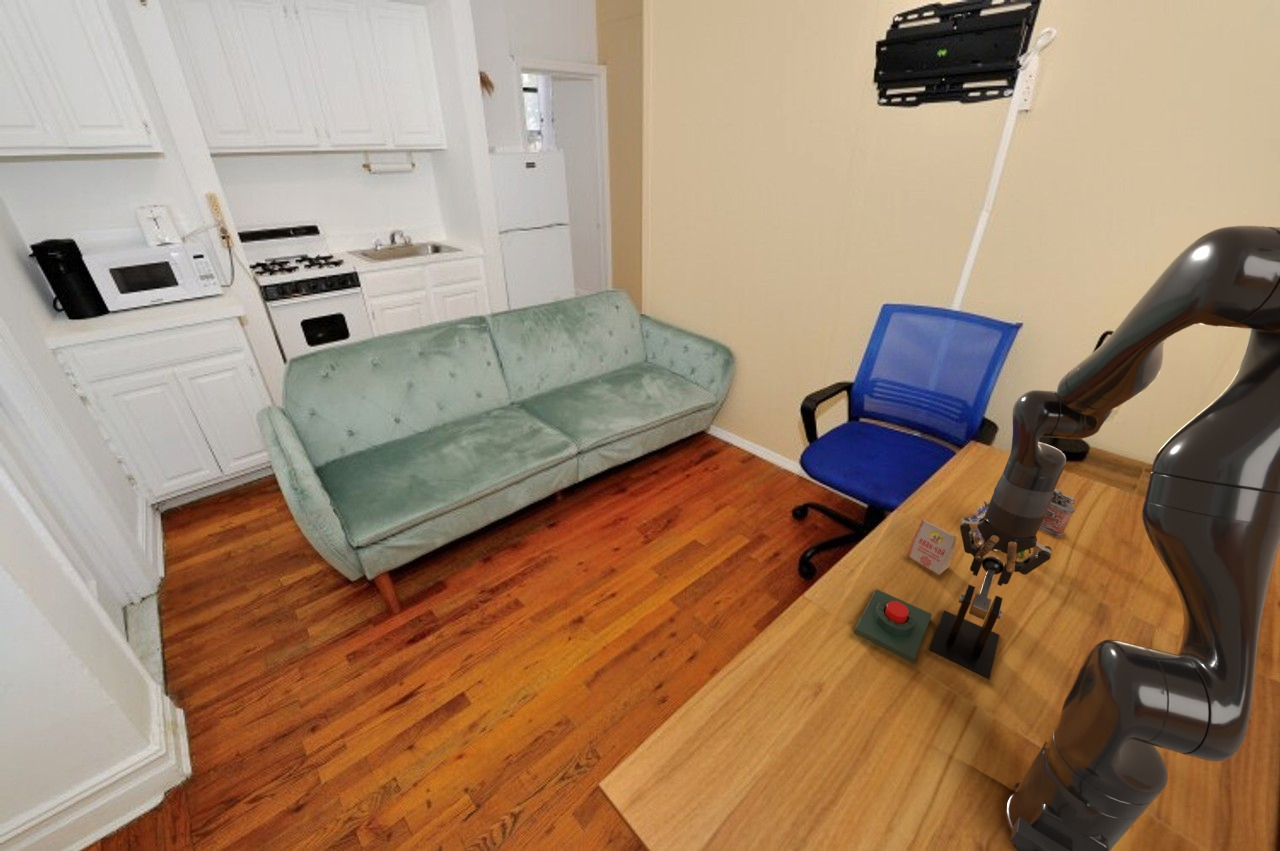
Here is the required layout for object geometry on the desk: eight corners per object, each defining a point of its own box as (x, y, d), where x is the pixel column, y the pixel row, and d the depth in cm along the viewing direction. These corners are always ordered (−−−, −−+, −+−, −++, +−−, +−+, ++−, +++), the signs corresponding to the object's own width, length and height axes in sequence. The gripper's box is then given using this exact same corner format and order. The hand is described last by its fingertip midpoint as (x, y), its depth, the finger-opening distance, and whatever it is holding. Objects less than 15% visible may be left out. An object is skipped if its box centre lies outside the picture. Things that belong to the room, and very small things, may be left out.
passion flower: (974, 564, 115) (950, 518, 114) (998, 538, 119) (976, 494, 119) (1027, 569, 104) (1002, 519, 104) (1051, 541, 109) (1027, 492, 108)
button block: (911, 666, 86) (917, 651, 84) (853, 636, 92) (857, 621, 90) (929, 622, 94) (934, 607, 93) (873, 596, 100) (878, 581, 98)
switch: (982, 561, 94) (986, 549, 92) (1002, 568, 92) (1007, 557, 90) (964, 613, 86) (969, 602, 84) (986, 622, 84) (991, 612, 82)
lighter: (1020, 518, 120) (1035, 484, 116) (1029, 514, 121) (1044, 480, 117) (1057, 539, 114) (1074, 503, 109) (1066, 534, 115) (1083, 499, 110)
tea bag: (916, 552, 111) (927, 516, 106) (947, 570, 106) (960, 533, 101) (906, 559, 109) (917, 522, 104) (938, 577, 104) (951, 540, 99)
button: (903, 626, 89) (905, 620, 88) (882, 616, 91) (884, 610, 91) (909, 614, 92) (911, 607, 91) (888, 604, 94) (890, 597, 93)
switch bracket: (942, 614, 96) (959, 568, 90) (997, 639, 91) (1019, 591, 85) (928, 653, 89) (945, 606, 83) (987, 683, 83) (1010, 634, 78)
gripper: (966, 497, 85) (940, 572, 94) (1071, 530, 77) (1032, 609, 86) (974, 477, 91) (949, 550, 99) (1073, 507, 83) (1036, 583, 91)
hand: (987, 577), depth 92 cm, fingers closed on switch, 3 cm apart
